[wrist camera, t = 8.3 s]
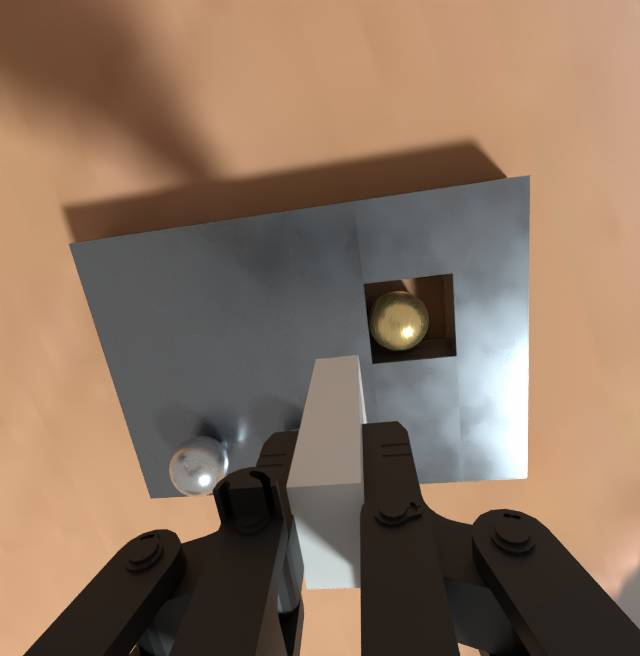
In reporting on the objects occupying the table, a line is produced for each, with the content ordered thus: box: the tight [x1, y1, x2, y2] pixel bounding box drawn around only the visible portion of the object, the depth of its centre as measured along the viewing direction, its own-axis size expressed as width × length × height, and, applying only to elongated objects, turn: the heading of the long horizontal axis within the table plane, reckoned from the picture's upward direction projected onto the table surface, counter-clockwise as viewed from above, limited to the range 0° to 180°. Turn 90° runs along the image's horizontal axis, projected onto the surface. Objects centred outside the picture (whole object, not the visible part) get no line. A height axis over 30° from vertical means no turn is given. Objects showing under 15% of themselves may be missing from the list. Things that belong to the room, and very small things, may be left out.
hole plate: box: [69, 175, 530, 498], centre depth 25 cm, size 17×24×3 cm
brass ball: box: [368, 291, 429, 351], centre depth 23 cm, size 3×3×3 cm
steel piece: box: [169, 436, 229, 497], centre depth 24 cm, size 3×3×3 cm
